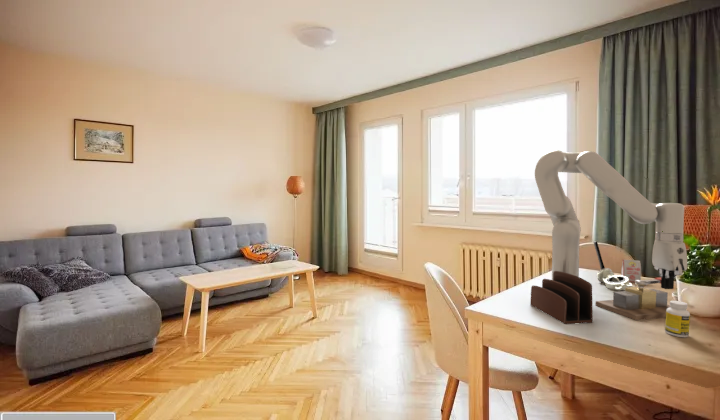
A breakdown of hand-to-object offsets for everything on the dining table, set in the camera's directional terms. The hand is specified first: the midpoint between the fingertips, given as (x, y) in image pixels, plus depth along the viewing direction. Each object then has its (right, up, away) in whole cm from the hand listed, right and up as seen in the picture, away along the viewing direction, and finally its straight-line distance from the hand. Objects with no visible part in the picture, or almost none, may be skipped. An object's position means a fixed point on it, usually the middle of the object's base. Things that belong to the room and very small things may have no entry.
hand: (667, 288), depth 128 cm
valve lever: (-3, +1, +2) cm, 4 cm away
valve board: (-9, -8, +1) cm, 12 cm away
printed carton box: (+19, -6, +42) cm, 46 cm away
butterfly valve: (+3, -7, +32) cm, 32 cm away
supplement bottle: (-14, -10, -20) cm, 27 cm away
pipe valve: (-9, -7, +1) cm, 11 cm away
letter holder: (-40, -9, -1) cm, 41 cm away
